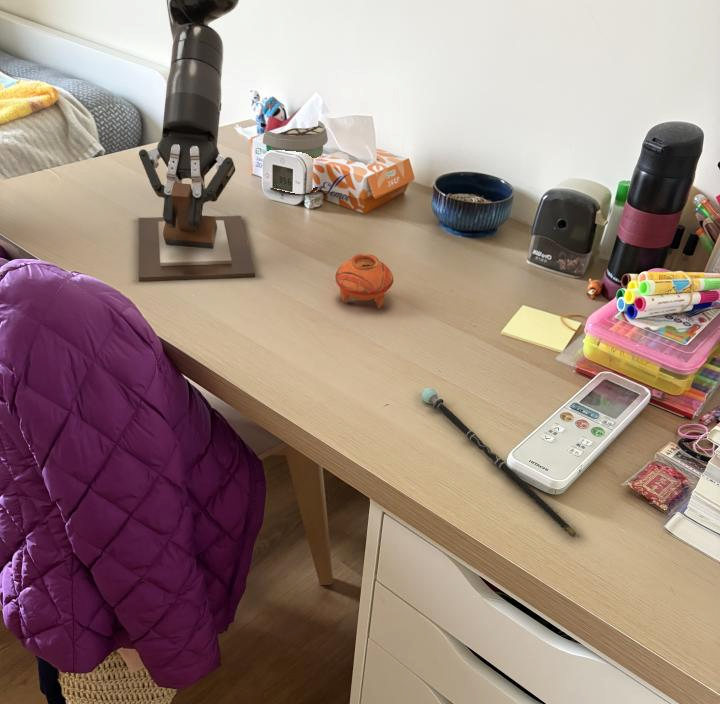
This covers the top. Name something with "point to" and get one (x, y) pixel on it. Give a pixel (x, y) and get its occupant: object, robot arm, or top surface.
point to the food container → (298, 143)
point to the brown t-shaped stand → (182, 231)
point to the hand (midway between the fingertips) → (181, 226)
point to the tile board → (194, 253)
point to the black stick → (490, 454)
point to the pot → (364, 278)
